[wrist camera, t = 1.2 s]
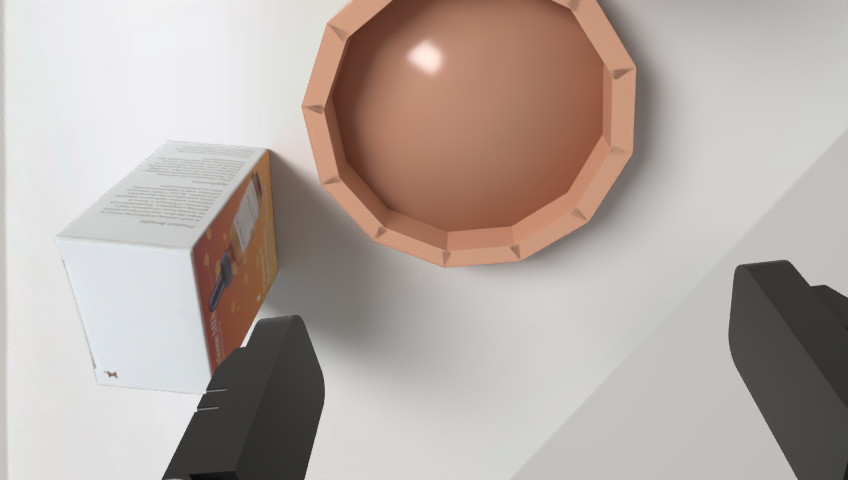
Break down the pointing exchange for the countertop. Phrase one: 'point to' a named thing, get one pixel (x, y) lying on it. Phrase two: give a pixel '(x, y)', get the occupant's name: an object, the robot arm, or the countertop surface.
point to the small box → (173, 265)
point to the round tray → (470, 122)
